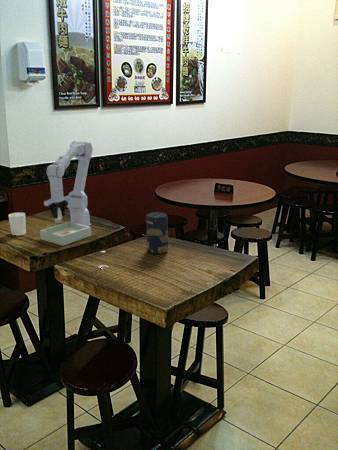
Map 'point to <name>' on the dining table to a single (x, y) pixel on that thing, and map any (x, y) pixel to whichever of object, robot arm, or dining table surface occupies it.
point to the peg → (59, 216)
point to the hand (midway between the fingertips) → (59, 217)
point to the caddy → (65, 233)
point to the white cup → (17, 223)
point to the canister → (157, 232)
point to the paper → (102, 265)
